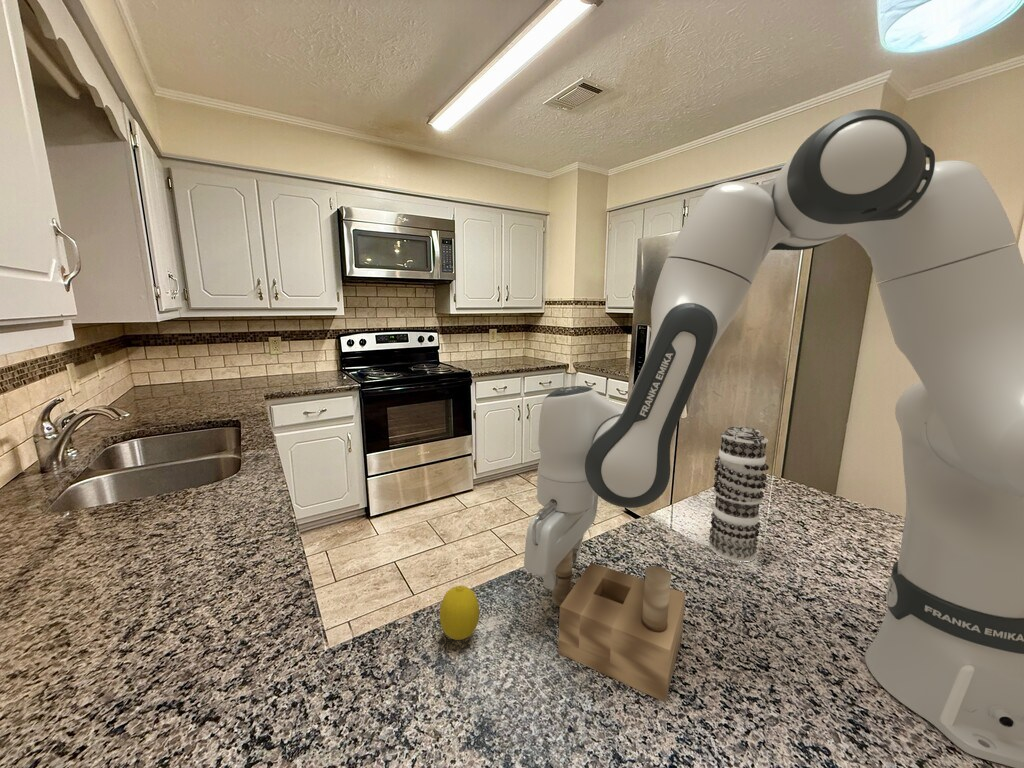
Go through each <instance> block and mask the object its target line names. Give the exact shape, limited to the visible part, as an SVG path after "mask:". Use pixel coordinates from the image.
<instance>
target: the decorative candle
mask: <svg viewBox="0 0 1024 768" xmlns="http://www.w3.org/2000/svg"><path fill="white" fill-rule="evenodd" d="M719 435H720V437H721V440H720V447H719V449H718V455H717V456H716V457H715V460H714V467H713V470H714V471H715V472H714V473H715V474H714V478H713V481H714V483H713V485H712V487H713V488H714V489H713V492H714V495H715V503H714V504H713V511H712V513H710V516H711V520H710V524H711V527H710V528H709V534H710V535H709V536H708V539H709V543H708V546H709V545H710V548H711V549H712V550H713V551H714V552H715V553H716V554H718V555H720V556H721V557H724V558H726V559H725V560H727V559H729V560H728V561H730V560H734V561H739V562H740V561H741V562H744V561H751V560H754V559H755V558H757V552H758V551H757V550H758V549H759V548H758V545H759V539H758V538H757V537H759V534H760V531H759V529H760V528H761V523H760V522H759V521H760V511H759V510H760V504H762V502H763V499H764V497H765V495H764V494H765V493H764V492H763V491H761V490H762V489H765V488H766V486H767V483H765V482H764V481H766V480H767V479H768V477H767V475H766V474H765V473H764V472H765V471H768V470H770V466H769V465H768V464H767V463H766V462H767V461H768V460H767V455H766V448H767V443H768V442H769V439H768V438H767V437H765V436H764V434H763V432H761V431H760V430H759V429H756V428H752V427H746V426H729V427H728V428H726V430H725V431H724V432H721V433H720V434H719ZM710 548H709V549H710ZM716 554H715V555H716ZM718 555H717V556H718ZM720 556H719V557H720ZM721 557H720V558H721ZM724 558H723V559H724ZM755 560H756V559H755ZM755 560H754V561H755ZM734 561H733V562H734ZM739 562H738V563H739Z"/></svg>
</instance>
